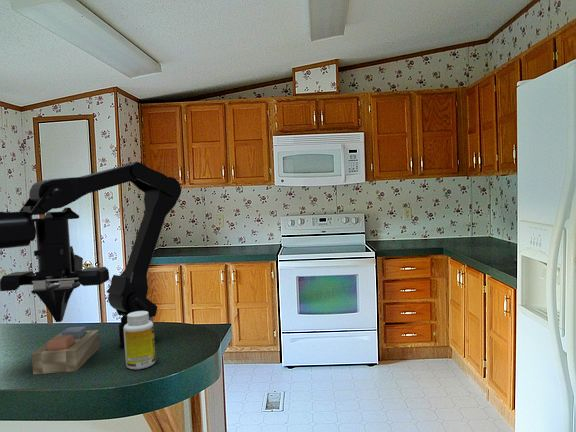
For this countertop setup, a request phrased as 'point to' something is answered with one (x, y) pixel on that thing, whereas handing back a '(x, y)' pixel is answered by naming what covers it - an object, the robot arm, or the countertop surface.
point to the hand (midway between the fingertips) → (59, 321)
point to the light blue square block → (75, 332)
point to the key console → (66, 355)
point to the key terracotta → (60, 342)
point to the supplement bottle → (139, 340)
